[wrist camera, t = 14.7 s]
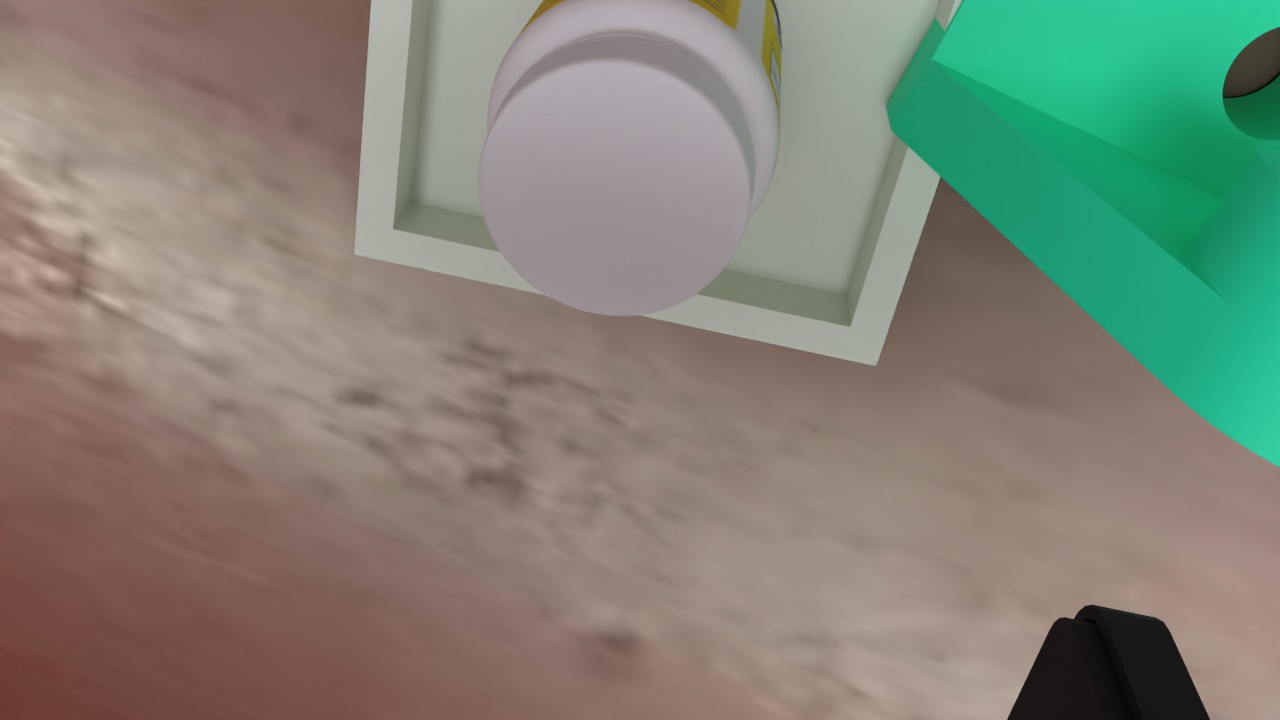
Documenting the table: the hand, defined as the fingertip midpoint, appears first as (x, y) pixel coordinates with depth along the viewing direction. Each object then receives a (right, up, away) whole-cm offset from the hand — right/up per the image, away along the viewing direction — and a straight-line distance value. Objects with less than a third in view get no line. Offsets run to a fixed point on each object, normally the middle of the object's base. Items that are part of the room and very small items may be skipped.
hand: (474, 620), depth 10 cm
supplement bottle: (+2, +9, +15) cm, 17 cm away
